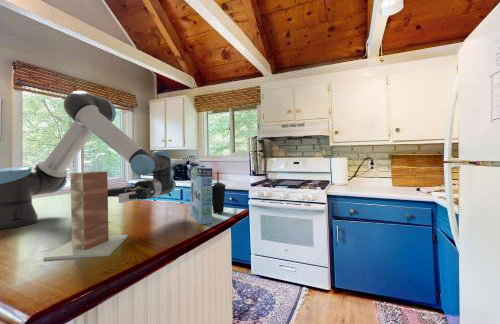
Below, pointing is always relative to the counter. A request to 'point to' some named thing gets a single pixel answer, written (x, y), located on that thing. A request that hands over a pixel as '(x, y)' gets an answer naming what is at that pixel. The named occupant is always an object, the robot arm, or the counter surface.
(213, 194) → the drinking cup
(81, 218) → the wooden block tower
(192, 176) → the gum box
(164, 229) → the counter surface
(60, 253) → the mat
